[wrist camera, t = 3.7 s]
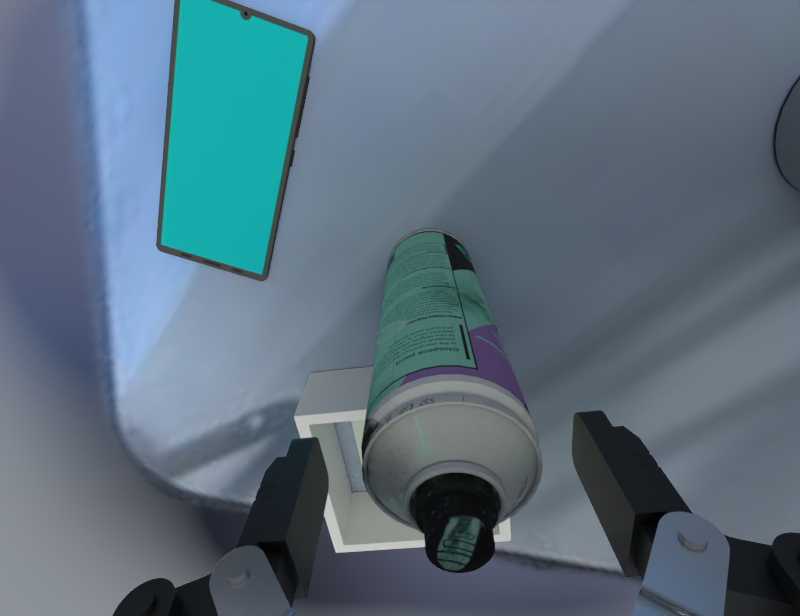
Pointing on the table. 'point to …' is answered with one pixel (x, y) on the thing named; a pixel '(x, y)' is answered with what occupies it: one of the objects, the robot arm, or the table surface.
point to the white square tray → (345, 511)
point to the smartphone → (230, 133)
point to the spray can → (445, 408)
